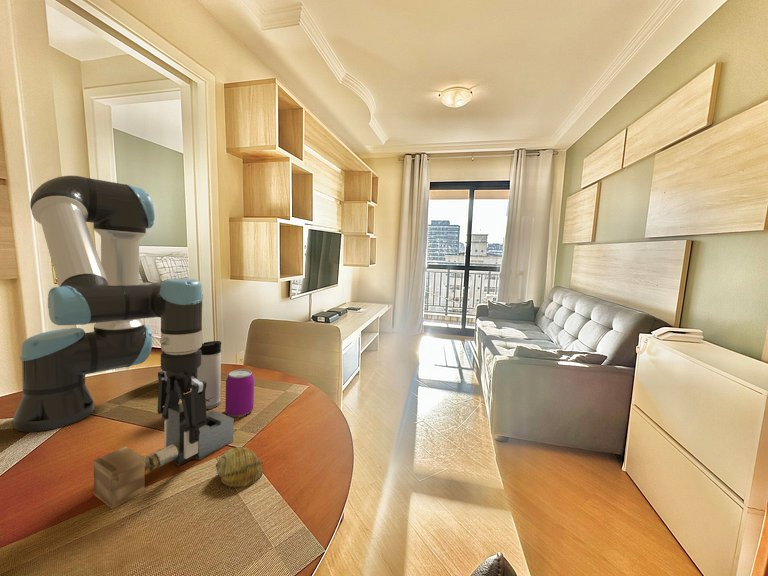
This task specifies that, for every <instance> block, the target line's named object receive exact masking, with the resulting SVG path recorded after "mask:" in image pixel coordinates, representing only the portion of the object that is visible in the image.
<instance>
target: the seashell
mask: <svg viewBox="0 0 768 576" xmlns="http://www.w3.org/2000/svg"><path fill="white" fill-rule="evenodd" d="M262 464H263V461H261V460H260V458H259V457H258V456H257V454H256V453H255V452H254V451H253V450H252V449H250V448H248V447H243V446H236V447H233V448H232V447H231V448H230V449H228V450H226V451H225V452H224V453H223V454H222V456H221V458H220V459H219V460H218V462H217V463H216V464H215V469H216V474H217V476H218V477H220V482H222V484H223V485H225V486H226V487H228V488H237V489H238V488H239V489H240V488H246V487H249V486H251V485H253V484H255V483H257V482H258V481H259V480H260V479H261V478H262V476H263V475H264V474H263V473H264V471H263V465H262Z"/></svg>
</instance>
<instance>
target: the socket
mask: <svg viewBox="0 0 768 576" xmlns="http://www.w3.org/2000/svg"><path fill="white" fill-rule="evenodd" d="M145 468H146V466H145V456H144V455H142V454H140V453H139V452H137V451H135V450H133V449H132V448H130V447H128V446H124V447H121V448H119V449H116V450H114V451H112V452H109V453H107V454H104V455H103V456H100V457H97V458H96V459H95V458H94V459H93V490H94V491H93V495H94V496H95V497H96V498H98V499H99V501H102V502H103V503H104V504H105V505H107V506H108V507H109V508H111V509H113V510H114V509H115V508H116V507H119V506H120V505H122V504H124V503H126V502H127V501H129V500H131V499H133V498H135V497H136V496H138V495H140V494H141V493H144V492H145V482H146V481H145V476H146V475H145Z"/></svg>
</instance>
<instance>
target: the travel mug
mask: <svg viewBox="0 0 768 576" xmlns="http://www.w3.org/2000/svg"><path fill="white" fill-rule="evenodd" d="M221 348H222V341H219V340H212V341H207V342H206V341H205V342H203V343H202V346H201V348H199V349H200V350H201V351H202V353H201V365H200V366H199V367H198V368H197V380H199V381H200V382H203V381H206V383H207V385H206V390H205V399H206V410H210V409H214V408H216V406H217V407H218V406H219V405H221V382H222V381H221V376H222V375H221V372H222V371H221V369H222V367H221V366H222V349H221Z"/></svg>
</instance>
